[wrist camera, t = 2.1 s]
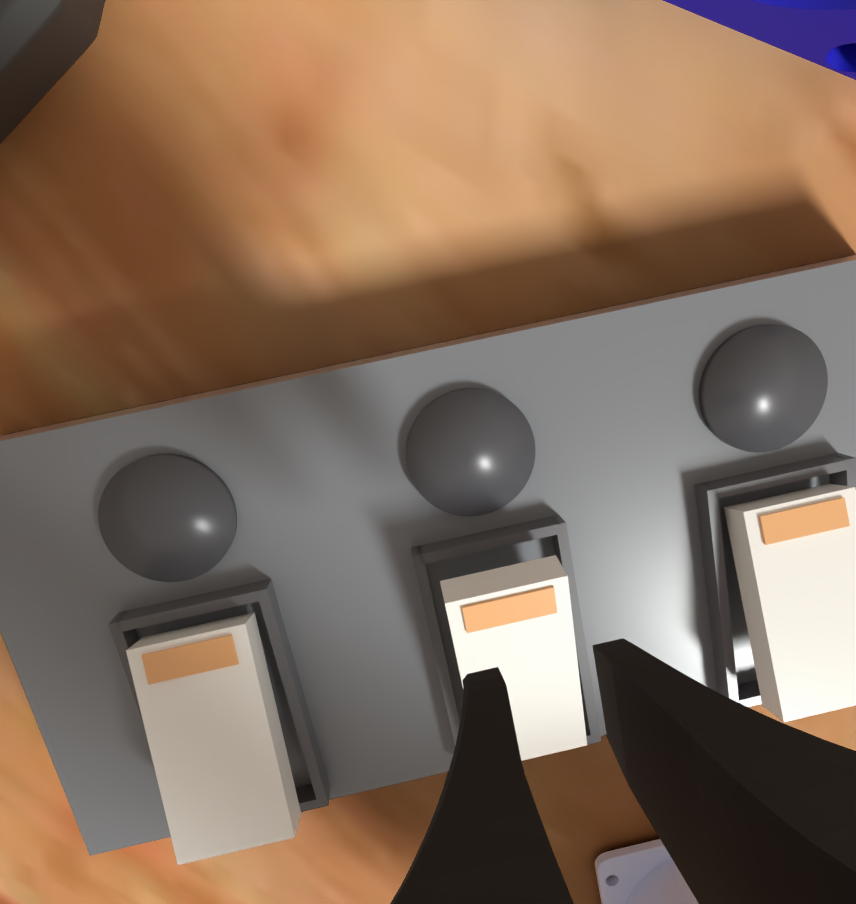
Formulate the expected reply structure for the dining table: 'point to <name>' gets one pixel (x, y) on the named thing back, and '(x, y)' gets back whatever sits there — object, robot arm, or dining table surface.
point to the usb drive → (40, 50)
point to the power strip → (417, 523)
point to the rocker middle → (523, 647)
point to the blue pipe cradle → (791, 26)
